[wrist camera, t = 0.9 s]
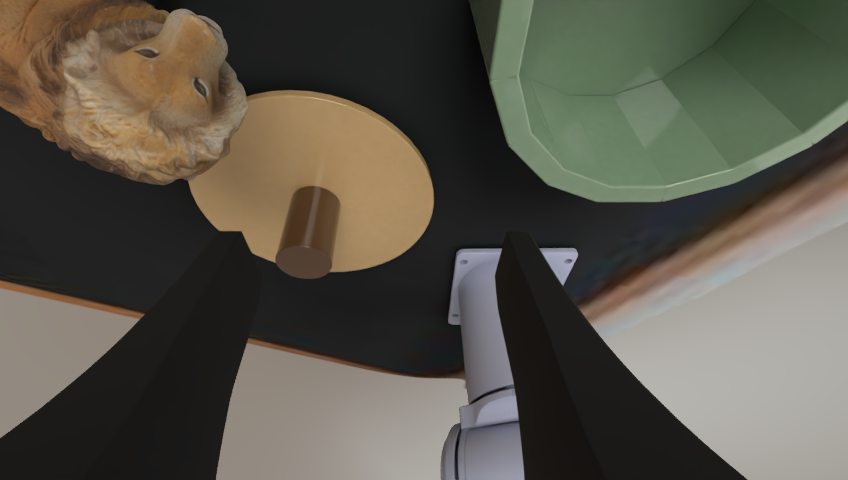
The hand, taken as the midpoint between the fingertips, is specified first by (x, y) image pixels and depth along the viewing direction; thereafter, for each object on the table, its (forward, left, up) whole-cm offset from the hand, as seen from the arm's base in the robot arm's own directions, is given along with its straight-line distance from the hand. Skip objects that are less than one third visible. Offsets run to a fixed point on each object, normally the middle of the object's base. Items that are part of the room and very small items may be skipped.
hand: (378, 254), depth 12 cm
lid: (-6, +4, -9) cm, 12 cm away
